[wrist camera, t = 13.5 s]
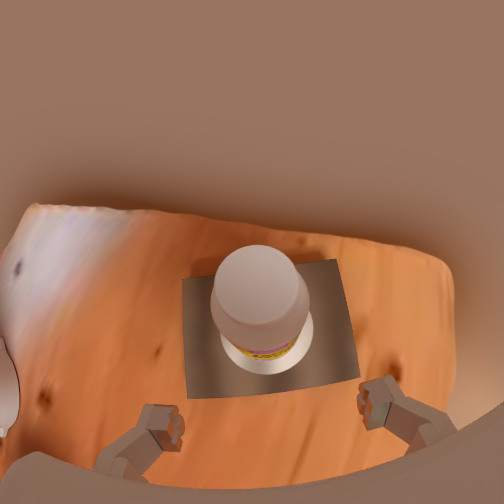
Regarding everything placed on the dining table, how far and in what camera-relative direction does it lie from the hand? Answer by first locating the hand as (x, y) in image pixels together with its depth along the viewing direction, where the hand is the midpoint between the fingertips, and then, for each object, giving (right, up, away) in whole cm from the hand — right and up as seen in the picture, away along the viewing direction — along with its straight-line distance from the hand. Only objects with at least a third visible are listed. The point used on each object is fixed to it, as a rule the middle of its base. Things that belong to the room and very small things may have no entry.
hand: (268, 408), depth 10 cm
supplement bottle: (+1, -1, +16) cm, 16 cm away
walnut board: (+1, -2, +19) cm, 19 cm away
